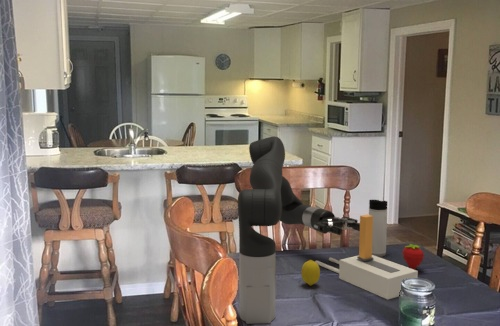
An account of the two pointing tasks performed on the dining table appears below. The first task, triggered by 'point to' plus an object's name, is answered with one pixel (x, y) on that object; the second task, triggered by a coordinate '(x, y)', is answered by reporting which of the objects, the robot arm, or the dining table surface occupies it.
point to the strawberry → (413, 255)
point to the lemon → (310, 272)
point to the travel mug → (378, 226)
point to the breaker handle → (365, 238)
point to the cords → (328, 265)
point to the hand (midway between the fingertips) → (351, 229)
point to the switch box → (375, 275)
